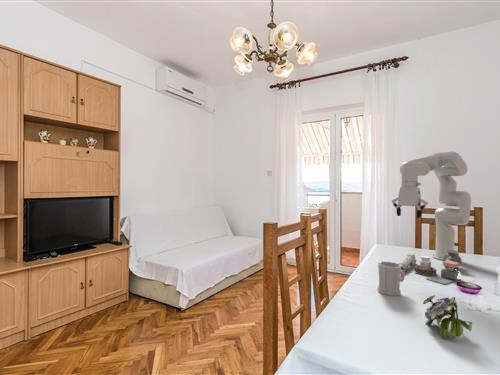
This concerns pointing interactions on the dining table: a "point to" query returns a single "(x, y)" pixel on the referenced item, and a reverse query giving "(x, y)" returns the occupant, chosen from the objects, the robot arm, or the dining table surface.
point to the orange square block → (451, 265)
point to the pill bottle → (425, 263)
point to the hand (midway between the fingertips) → (408, 216)
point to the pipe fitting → (452, 257)
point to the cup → (390, 278)
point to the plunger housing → (449, 274)
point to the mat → (440, 280)
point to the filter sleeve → (425, 271)
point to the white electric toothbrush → (408, 261)
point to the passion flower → (444, 309)
